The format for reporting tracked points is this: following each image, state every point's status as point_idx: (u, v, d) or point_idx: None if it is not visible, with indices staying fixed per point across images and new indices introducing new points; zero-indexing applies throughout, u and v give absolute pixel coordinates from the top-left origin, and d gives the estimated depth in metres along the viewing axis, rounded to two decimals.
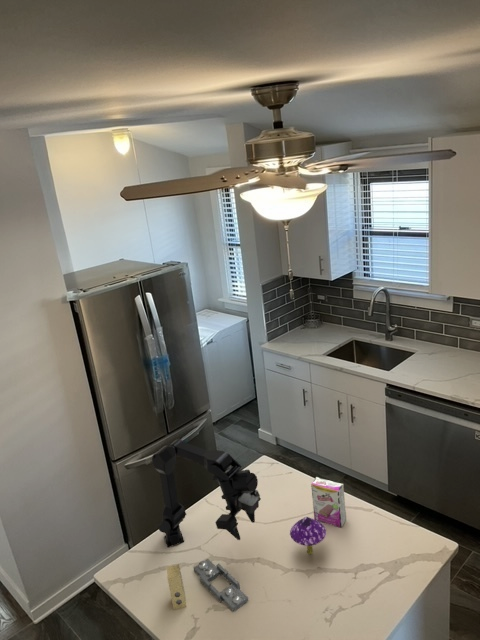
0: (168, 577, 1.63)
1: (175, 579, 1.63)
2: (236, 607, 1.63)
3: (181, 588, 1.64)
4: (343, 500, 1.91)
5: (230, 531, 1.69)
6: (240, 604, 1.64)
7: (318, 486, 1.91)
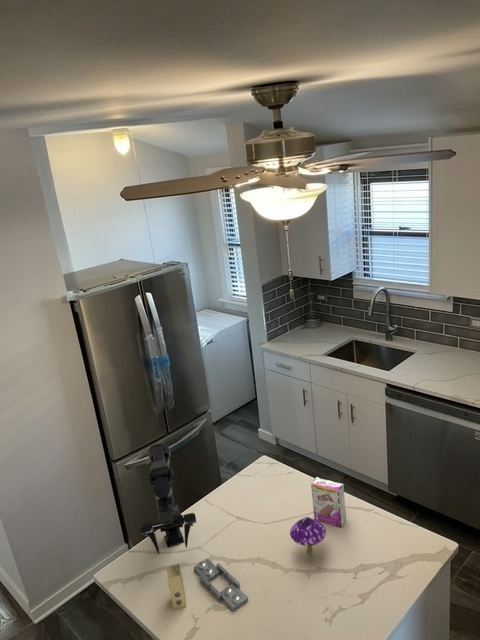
0: (168, 577, 1.63)
1: (175, 579, 1.63)
2: (236, 607, 1.63)
3: (181, 588, 1.64)
4: (343, 500, 1.91)
5: None
6: (240, 604, 1.64)
7: (318, 486, 1.91)
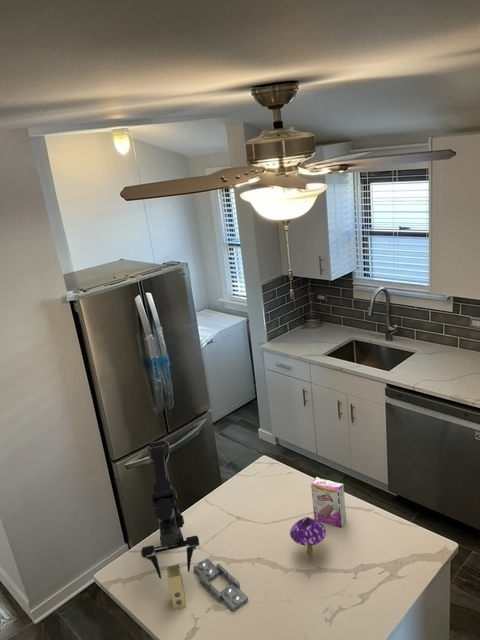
0: (168, 577, 1.63)
1: (175, 579, 1.63)
2: (236, 607, 1.63)
3: (181, 588, 1.64)
4: (343, 500, 1.91)
5: None
6: (240, 604, 1.64)
7: (318, 486, 1.91)
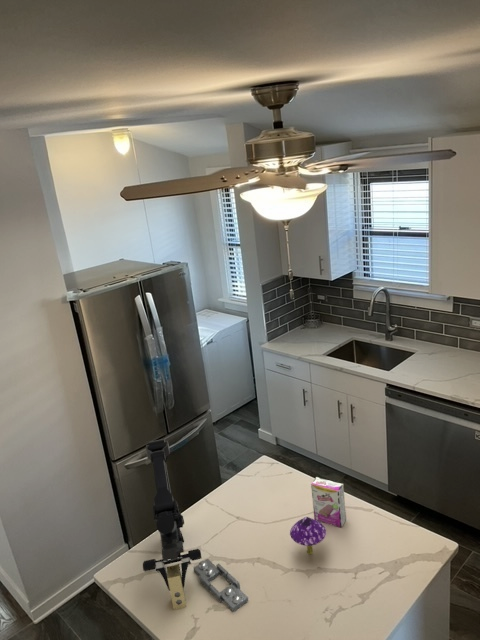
0: (168, 577, 1.63)
1: (175, 579, 1.63)
2: (236, 607, 1.63)
3: (181, 588, 1.64)
4: (343, 500, 1.91)
5: None
6: (240, 604, 1.64)
7: (318, 486, 1.91)
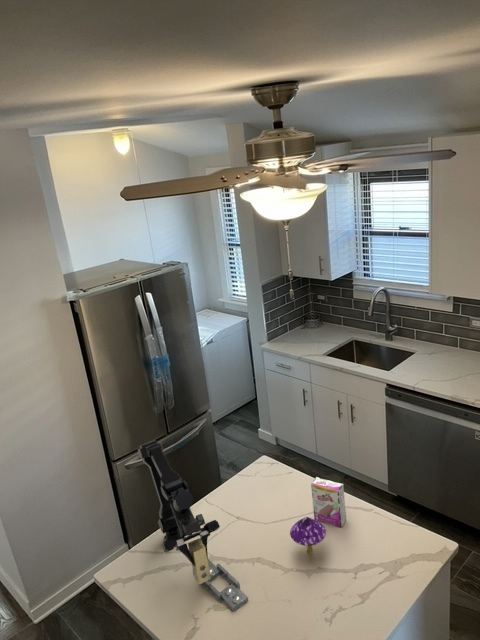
0: (194, 551, 1.62)
1: (200, 552, 1.63)
2: (236, 607, 1.63)
3: (206, 560, 1.65)
4: (343, 500, 1.91)
5: (185, 555, 1.67)
6: (240, 604, 1.64)
7: (318, 486, 1.91)
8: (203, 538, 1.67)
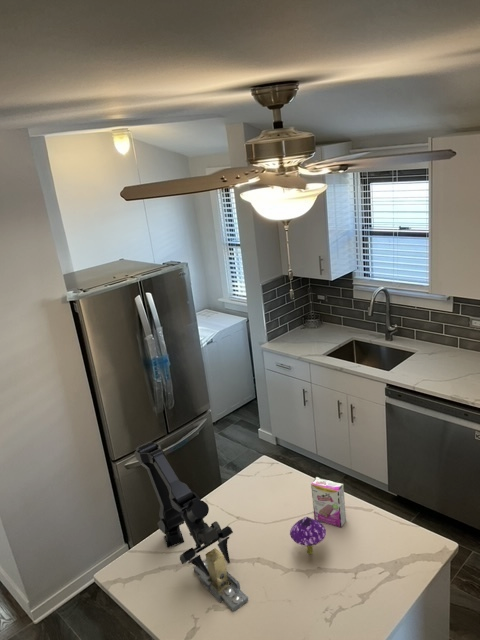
0: (214, 561, 1.67)
1: (220, 560, 1.68)
2: (236, 607, 1.63)
3: (225, 568, 1.70)
4: (343, 500, 1.91)
5: (199, 566, 1.69)
6: (240, 604, 1.64)
7: (318, 486, 1.91)
8: (223, 542, 1.73)
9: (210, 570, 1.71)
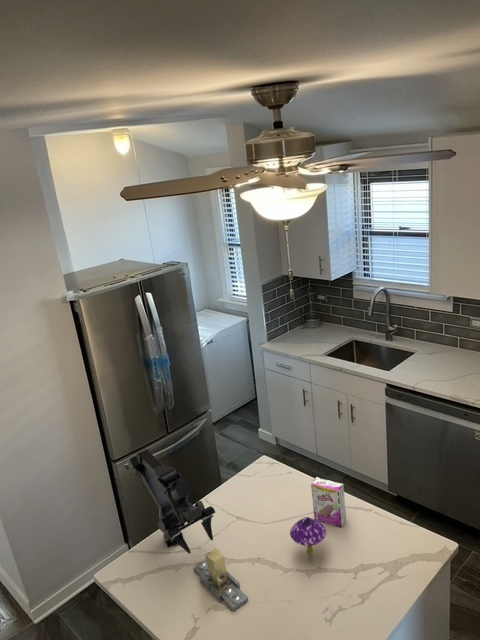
0: (214, 561, 1.67)
1: (220, 561, 1.68)
2: (236, 607, 1.63)
3: (225, 568, 1.70)
4: (343, 500, 1.91)
5: (180, 544, 1.75)
6: (240, 604, 1.64)
7: (318, 486, 1.91)
8: (208, 520, 1.80)
9: (210, 570, 1.71)
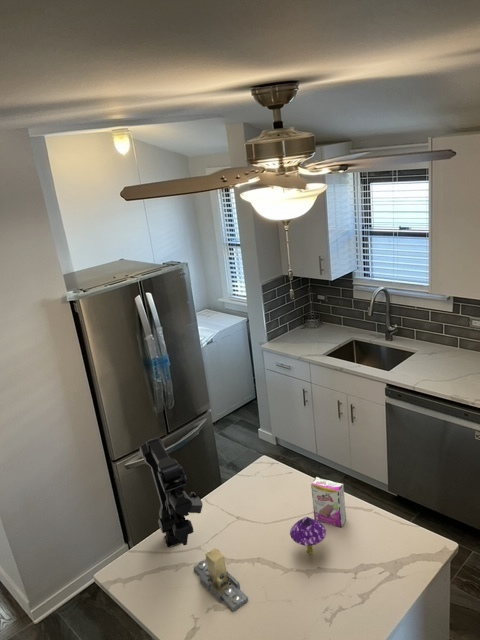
0: (214, 561, 1.67)
1: (220, 561, 1.68)
2: (236, 607, 1.63)
3: (225, 568, 1.70)
4: (343, 500, 1.91)
5: (181, 538, 1.72)
6: (240, 604, 1.64)
7: (318, 486, 1.91)
8: None
9: (210, 570, 1.71)
